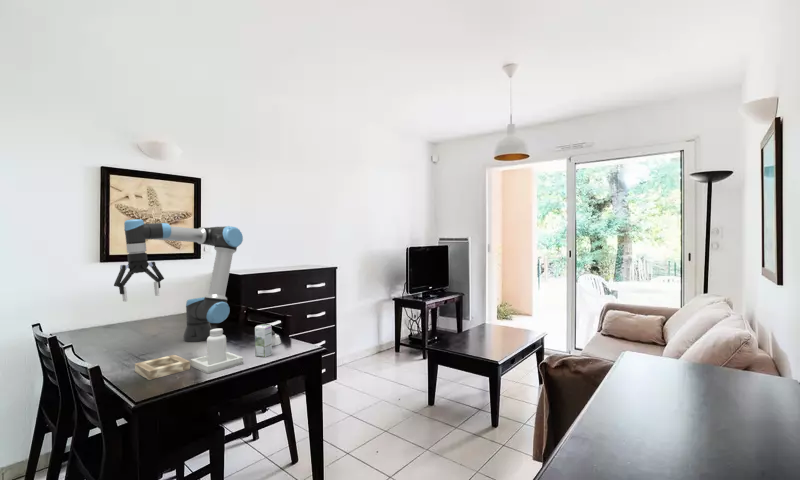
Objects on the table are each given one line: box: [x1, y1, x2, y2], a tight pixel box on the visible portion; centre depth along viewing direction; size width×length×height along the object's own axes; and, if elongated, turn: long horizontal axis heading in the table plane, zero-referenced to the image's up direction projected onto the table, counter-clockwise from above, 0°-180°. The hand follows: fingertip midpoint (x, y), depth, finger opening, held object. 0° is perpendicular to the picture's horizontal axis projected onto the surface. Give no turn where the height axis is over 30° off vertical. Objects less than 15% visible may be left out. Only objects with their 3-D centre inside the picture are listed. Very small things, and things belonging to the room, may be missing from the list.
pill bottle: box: [206, 328, 228, 365], centre depth 178 cm, size 8×8×15 cm
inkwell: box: [272, 329, 282, 347], centre depth 208 cm, size 9×18×10 cm, turn 12°
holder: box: [134, 354, 191, 381], centre depth 171 cm, size 16×16×4 cm
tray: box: [190, 351, 244, 375], centre depth 178 cm, size 16×16×3 cm
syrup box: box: [254, 324, 273, 358], centre depth 192 cm, size 6×6×14 cm
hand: (141, 298), depth 184 cm, fingers open, 13 cm apart
